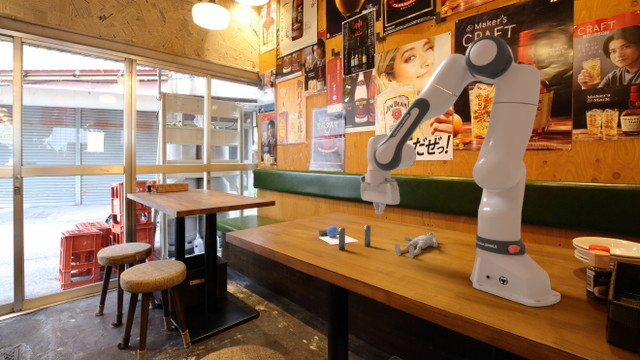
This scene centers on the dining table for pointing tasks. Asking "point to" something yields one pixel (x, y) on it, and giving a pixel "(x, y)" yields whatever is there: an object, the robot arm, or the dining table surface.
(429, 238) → the figurine
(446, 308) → the dining table surface
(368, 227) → the post right
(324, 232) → the strip
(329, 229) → the ball
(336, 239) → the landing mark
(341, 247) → the post left
